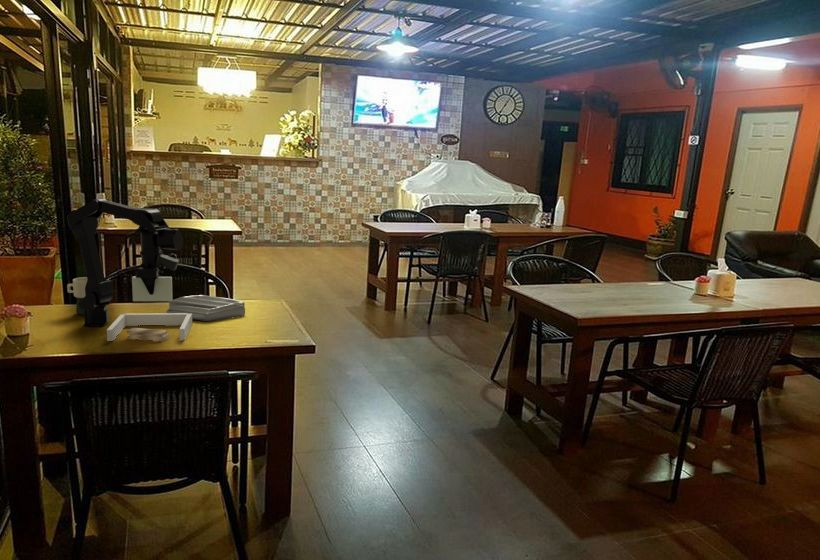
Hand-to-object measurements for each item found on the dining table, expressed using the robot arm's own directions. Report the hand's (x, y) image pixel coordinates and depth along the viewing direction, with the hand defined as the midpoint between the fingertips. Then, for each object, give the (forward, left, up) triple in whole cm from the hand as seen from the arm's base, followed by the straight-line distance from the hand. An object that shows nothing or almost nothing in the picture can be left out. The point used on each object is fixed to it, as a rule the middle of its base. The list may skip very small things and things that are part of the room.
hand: (152, 293), depth 195 cm
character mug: (-27, +23, -13) cm, 38 cm away
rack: (0, -2, -13) cm, 13 cm away
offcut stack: (0, -8, -13) cm, 16 cm away
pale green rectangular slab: (0, 0, -2) cm, 2 cm away
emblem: (+15, +24, -14) cm, 31 cm away
